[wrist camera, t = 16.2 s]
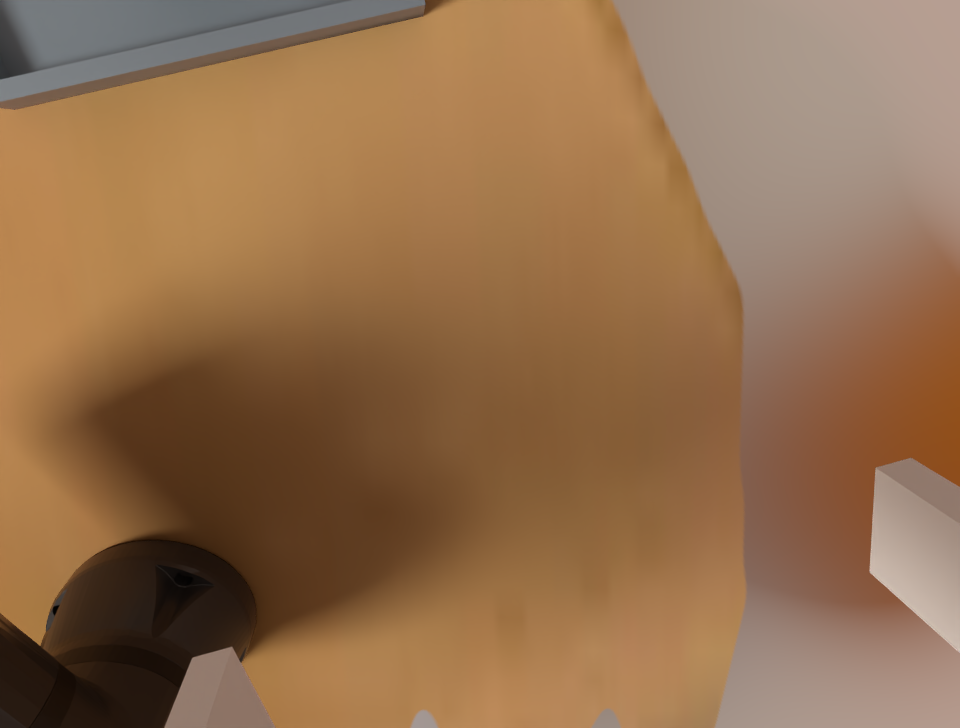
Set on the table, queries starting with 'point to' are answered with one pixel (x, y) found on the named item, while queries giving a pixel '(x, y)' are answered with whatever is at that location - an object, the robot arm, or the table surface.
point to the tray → (159, 38)
